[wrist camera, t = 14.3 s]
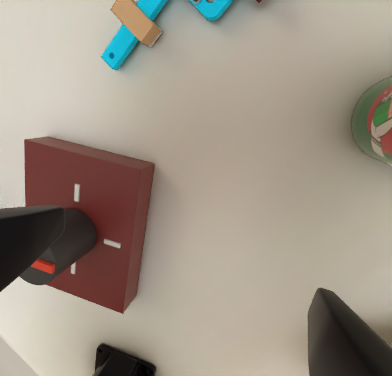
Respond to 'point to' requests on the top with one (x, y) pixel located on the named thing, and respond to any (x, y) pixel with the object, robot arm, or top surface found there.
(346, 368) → the robot arm
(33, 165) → the dial panel
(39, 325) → the top surface
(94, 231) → the timer dial
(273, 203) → the top surface
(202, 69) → the top surface
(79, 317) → the top surface
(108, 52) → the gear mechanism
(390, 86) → the soda can
